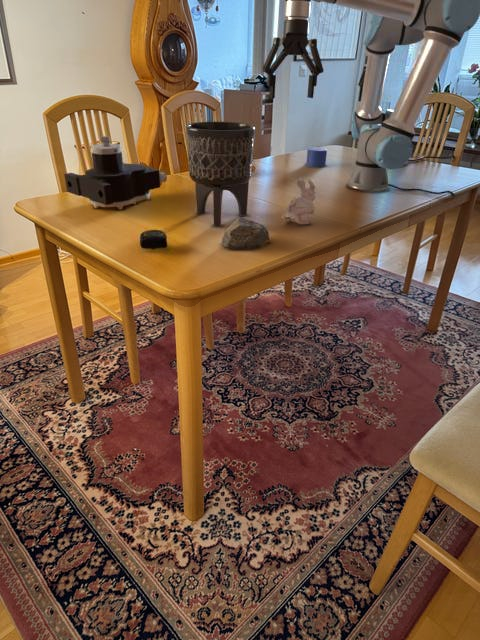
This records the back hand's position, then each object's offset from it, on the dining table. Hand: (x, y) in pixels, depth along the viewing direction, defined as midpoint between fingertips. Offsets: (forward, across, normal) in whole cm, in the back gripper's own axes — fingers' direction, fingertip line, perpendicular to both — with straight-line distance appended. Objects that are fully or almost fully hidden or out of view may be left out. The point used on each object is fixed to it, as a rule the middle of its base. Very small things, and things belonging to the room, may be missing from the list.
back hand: (366, 102), depth 236 cm
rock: (+22, +129, -94) cm, 161 cm away
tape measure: (+22, +128, -118) cm, 176 cm away
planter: (+22, +105, -97) cm, 145 cm away
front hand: (-10, +85, -70) cm, 111 cm away
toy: (+23, +45, -76) cm, 91 cm away
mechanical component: (+22, +82, -126) cm, 152 cm away
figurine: (+22, +113, -74) cm, 138 cm away
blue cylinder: (+23, +33, -38) cm, 56 cm away
